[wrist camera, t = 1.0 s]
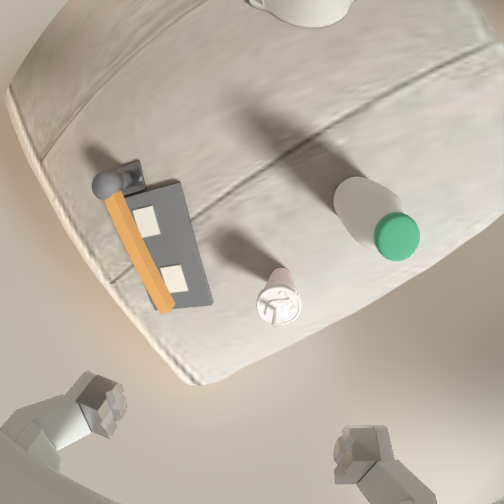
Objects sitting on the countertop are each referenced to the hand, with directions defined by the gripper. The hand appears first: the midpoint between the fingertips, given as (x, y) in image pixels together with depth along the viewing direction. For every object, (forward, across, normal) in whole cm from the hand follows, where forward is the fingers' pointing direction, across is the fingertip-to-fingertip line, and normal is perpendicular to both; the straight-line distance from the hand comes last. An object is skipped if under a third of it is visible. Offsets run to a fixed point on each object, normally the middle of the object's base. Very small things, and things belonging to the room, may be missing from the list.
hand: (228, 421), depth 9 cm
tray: (+39, +19, +10) cm, 44 cm away
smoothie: (+39, -2, +12) cm, 41 cm away
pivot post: (+39, +26, -2) cm, 47 cm away
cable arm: (+33, +21, +6) cm, 40 cm away
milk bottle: (+39, -12, -3) cm, 41 cm away
